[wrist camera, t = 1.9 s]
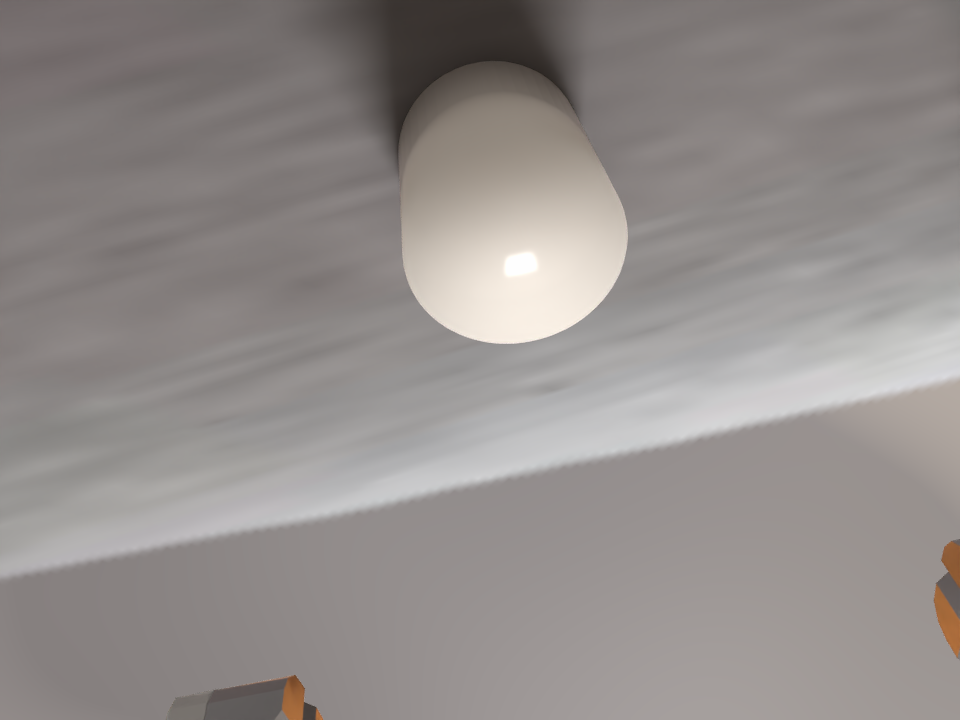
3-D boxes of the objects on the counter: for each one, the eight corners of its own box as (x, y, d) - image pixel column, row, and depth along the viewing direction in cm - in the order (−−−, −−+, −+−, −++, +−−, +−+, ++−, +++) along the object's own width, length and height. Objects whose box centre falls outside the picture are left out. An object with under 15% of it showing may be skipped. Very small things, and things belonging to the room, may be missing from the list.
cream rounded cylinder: (366, 188, 23) (363, 292, 19) (456, 24, 21) (476, 100, 16) (518, 261, 25) (547, 372, 20) (617, 118, 22) (673, 209, 18)
